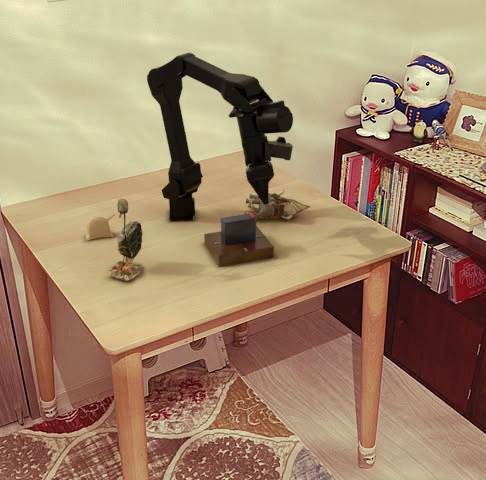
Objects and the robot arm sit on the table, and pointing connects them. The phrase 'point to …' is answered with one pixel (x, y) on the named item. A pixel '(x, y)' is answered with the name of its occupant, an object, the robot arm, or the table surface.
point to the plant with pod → (127, 246)
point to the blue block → (238, 228)
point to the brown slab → (238, 249)
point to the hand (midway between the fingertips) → (265, 199)
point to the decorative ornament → (98, 227)
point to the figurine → (275, 206)
